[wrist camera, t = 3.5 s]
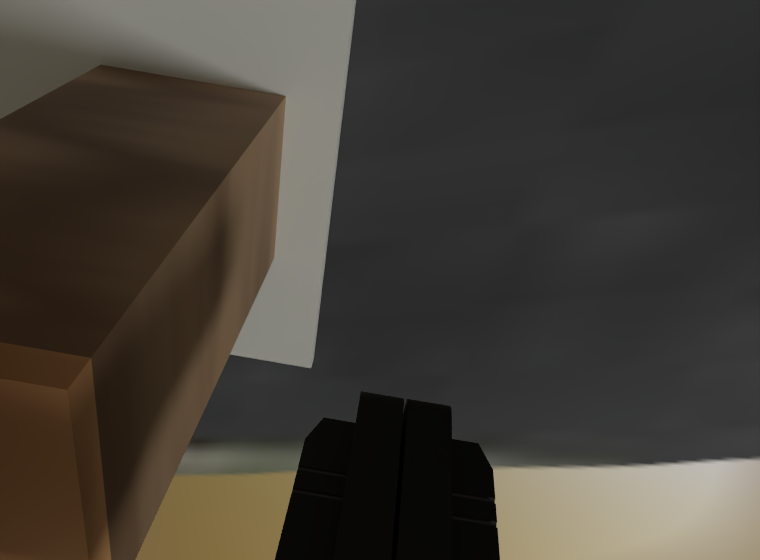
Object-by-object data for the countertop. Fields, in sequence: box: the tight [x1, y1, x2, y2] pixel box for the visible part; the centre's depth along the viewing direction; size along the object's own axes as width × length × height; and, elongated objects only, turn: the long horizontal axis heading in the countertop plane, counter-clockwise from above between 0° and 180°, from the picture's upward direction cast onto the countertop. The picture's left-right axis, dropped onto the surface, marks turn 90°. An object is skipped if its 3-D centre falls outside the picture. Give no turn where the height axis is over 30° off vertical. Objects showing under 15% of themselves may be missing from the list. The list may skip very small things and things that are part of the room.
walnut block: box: [0, 65, 286, 560], centre depth 14 cm, size 5×5×12 cm
